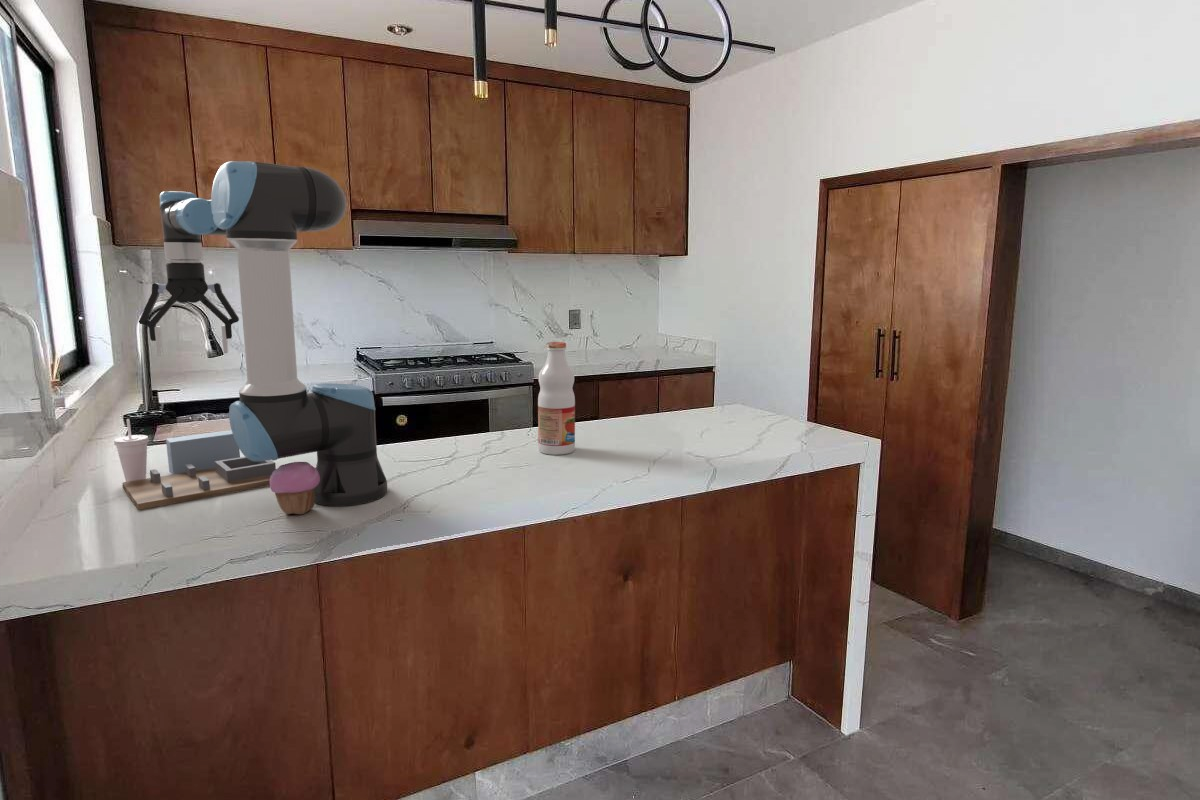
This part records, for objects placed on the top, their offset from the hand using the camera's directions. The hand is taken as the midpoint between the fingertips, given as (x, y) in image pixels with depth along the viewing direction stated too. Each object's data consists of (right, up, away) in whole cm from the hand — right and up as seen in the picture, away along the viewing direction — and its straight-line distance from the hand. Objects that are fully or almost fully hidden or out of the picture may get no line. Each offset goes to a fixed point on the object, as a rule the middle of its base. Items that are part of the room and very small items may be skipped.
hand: (193, 353), depth 170 cm
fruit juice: (+84, -24, +17) cm, 89 cm away
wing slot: (+7, -29, -17) cm, 34 cm away
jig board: (+11, -29, -14) cm, 34 cm away
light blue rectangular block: (+4, -27, -2) cm, 27 cm away
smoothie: (-6, -29, -11) cm, 32 cm away
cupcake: (+37, -33, -30) cm, 58 cm away
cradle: (+17, -27, -9) cm, 33 cm away
